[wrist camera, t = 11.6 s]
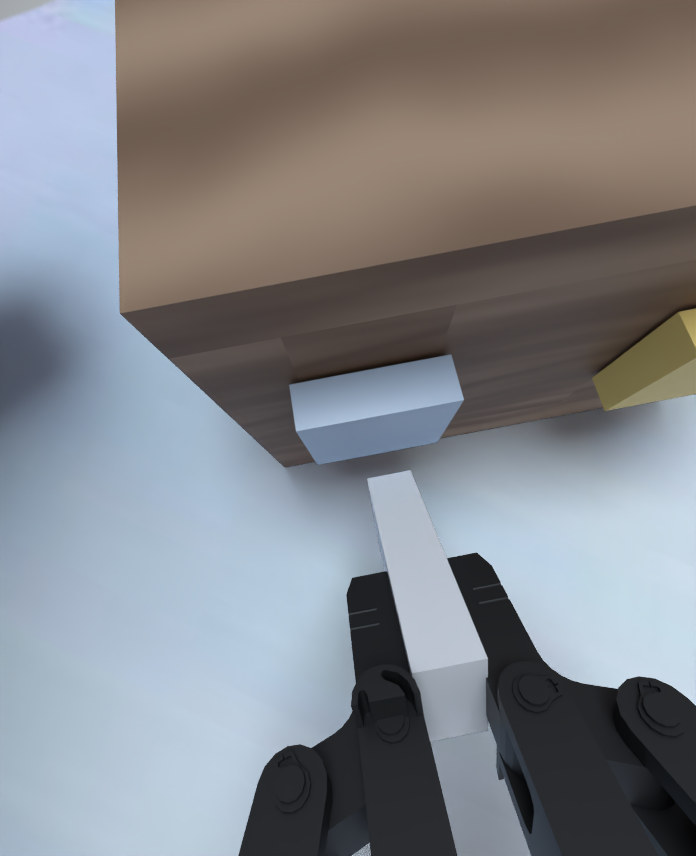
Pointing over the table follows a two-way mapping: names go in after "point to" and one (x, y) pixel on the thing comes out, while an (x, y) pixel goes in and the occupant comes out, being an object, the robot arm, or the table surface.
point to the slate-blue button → (376, 409)
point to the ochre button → (653, 366)
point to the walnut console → (404, 194)
